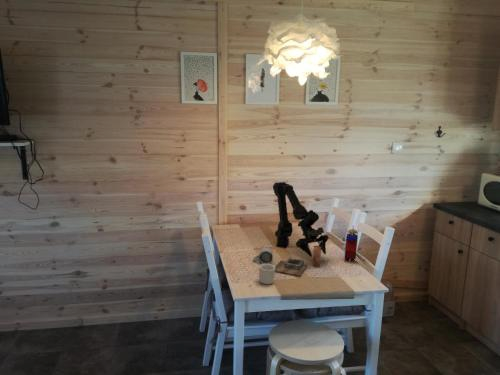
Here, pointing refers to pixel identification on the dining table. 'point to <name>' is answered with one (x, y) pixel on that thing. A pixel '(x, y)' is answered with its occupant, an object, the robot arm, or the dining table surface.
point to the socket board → (291, 267)
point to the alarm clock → (351, 244)
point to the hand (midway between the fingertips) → (318, 255)
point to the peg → (316, 256)
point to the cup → (266, 273)
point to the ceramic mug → (264, 256)
